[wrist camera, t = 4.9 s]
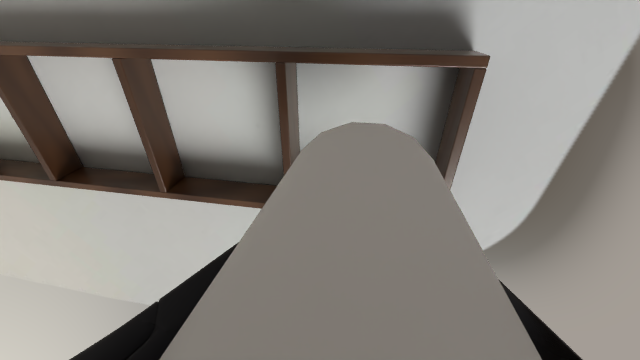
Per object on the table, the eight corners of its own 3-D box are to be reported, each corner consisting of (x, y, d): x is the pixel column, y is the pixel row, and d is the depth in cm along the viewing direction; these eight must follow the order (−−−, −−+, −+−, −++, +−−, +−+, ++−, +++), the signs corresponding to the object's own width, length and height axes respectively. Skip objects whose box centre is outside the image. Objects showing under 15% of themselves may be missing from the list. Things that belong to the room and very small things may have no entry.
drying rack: (474, 50, 13) (491, 55, 11) (432, 206, 18) (438, 228, 16) (-273, 35, 21) (-337, 37, 19) (-161, 147, 26) (-203, 158, 24)
